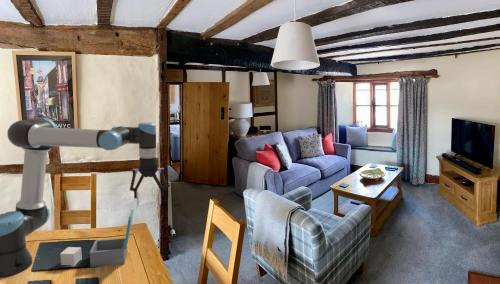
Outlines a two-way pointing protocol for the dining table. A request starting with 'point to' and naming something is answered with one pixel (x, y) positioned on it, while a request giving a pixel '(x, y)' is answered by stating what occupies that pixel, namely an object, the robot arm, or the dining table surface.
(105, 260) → the box
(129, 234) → the lid
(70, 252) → the light grey cube
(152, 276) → the dining table surface
